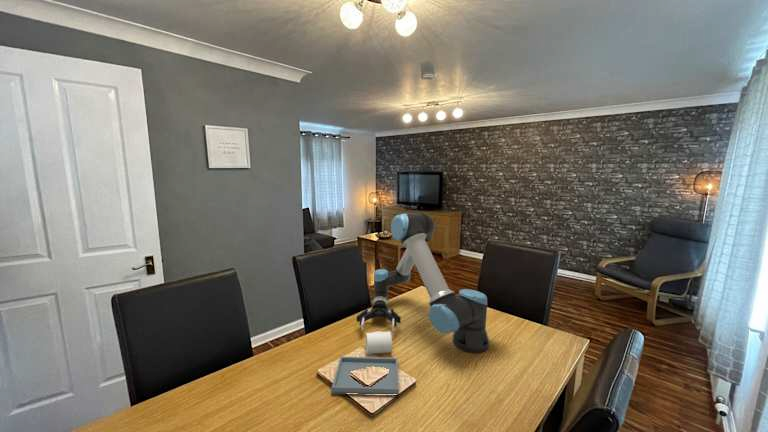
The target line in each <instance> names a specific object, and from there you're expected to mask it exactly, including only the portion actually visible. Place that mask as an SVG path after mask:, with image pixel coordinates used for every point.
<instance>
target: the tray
mask: <svg viewBox="0 0 768 432" xmlns="http://www.w3.org/2000/svg"><path fill="white" fill-rule="evenodd" d="M372 366H374V367H381V368H382V367H384V368H386V369H389V373H388V375H387V376H386V377H385V378H383V379H382V380H380V381H379V382H378V383H376V384H375V385H373V386H372V387H363V386H362V385H361V384H359V383H358V382H357V381H355V380H354V379H353V378H352V377H351V376H350V372H351V371H354V370H358V369H362V368H363V369H366V367H372ZM335 370H336V371H335V375H334V377H333V381H332V384H331V395H339V396H340V395H343V396H346V395H345V393H358V394H397V395H398V396H399V394H400V393H399V392H400V391H399V389H400V388H399V360H398V357H376V356H375V357H372V356H341V355H340V357H339V360H338V365H337V368H336V369H335Z"/></svg>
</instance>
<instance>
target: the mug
mask: <svg viewBox="0 0 768 432" xmlns="http://www.w3.org/2000/svg"><path fill="white" fill-rule="evenodd" d="M392 337H393V336H392V333H391V331H379V330H376V331H373V332H366V333H365V350H366V351H365V352H366V354H367V355H375V354H387V353H392V351H393V338H392Z"/></svg>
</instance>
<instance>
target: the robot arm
mask: <svg viewBox="0 0 768 432" xmlns="http://www.w3.org/2000/svg"><path fill="white" fill-rule="evenodd" d="M390 225H391V226H390V233H391V236H392V238H393V239H394V240H396V241H397V242H398V241H399V242H401V244H402V245H401V246H402V247H404V248H406V249H405V251H404V253H403V255H402V256H401V259H400V261H399V262H398V264H397V266H396V268H395V270H391V271H389V270H387V269H384V268H382V269H381V268H379V269H376V270H374V273H373V299H372V300H373V301H372V307H371V309H368V308H367V307H366V308H364V310H363V311H362V312H361V313H359V314H358V315H356V322H357V323H359V326H361V327H360V331H363V330H364V329H365V328H364V326H365V323H366V321H368V320H371V319H374V318H383V319H385V320H386V319H387V320H388V321H389V322H391V324H392V329H391V330H392V332H394V331H395V327H397V324H401V316H400V315H399V314H398V313H396V311H395V310H394V308H391V309H390V310H388V300H389V295H388V294H389V287H392V286H396V285H400V284H404V283H406V282H409V281H410V280H411V276H412V273H411V271H412V269H413V267H414V266H415V268H416V270H417V272H418V274H419V276H420V279H421V280H422V283H423V284H424V287H425V289H426V291H427V294H428V295H429V299H430V300H429V303H428V305H429V306H430V308H429V310H428V318H429V322H430V323H431V325H432V326H433V328H434V329H435V330H437V331H438V332H440V333H441V334H450V333H452V344H453V345H454V346H455V347H456V348H458V349H460V350H462V351H464V352H467V353H472V354H480V353H484V352H487V350H488V349H489V347H490V339H489V336H488V332H487V327H486V326H487V313H488V297H487V295H486V294H485V293H483V292H480V291H479V290H474V289H469V288H467V289H466V288H464V289H460V290H459V291H458V296H457V294H456V292H455V291H454V290H451V289H450V288H449V286H448V284H447V281H446V280H445V278H444V276H443V274H442V272H441V270H440V268H439V266H438V264H437V262H436V260H435V258H434V256H433V254H432V251H431V250H430V247H429V246H428V243H429V242H431V240H432V238H433V236H434V234H435V231H436V224H435V221H434V218H433V217H432V216H431V215H430V214H428V213H426V212H421V211H420V212H414V213H413V212H410V213H401V214H397V215H395V216H394V217H393V219H392V220H391V224H390Z"/></svg>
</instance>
